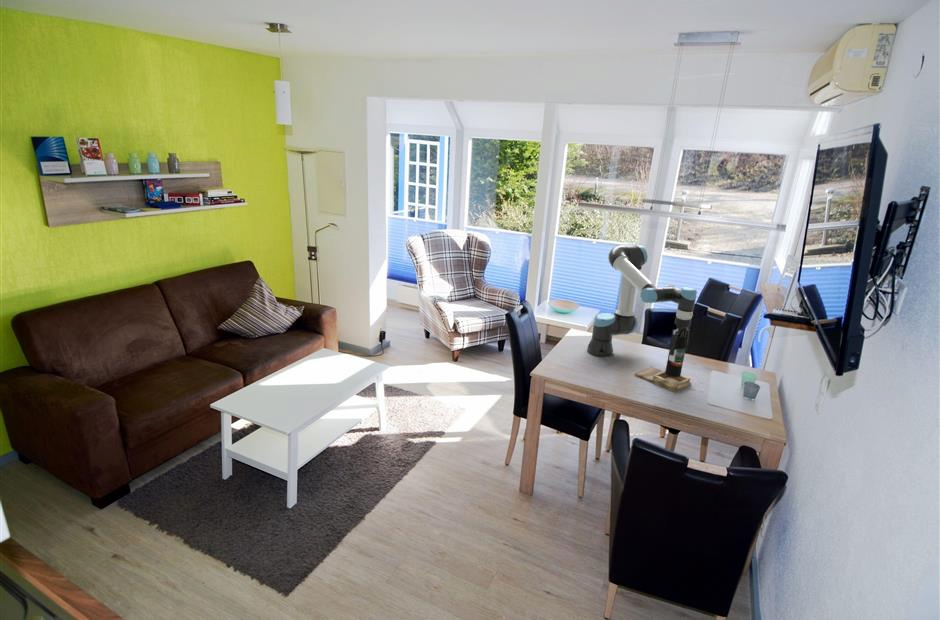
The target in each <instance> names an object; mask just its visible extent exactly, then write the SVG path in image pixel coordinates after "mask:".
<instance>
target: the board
mask: <svg viewBox="0 0 940 620" xmlns="http://www.w3.org/2000/svg"><path fill="white" fill-rule="evenodd" d="M665 371H666V369H665V370H661V369H658V368H656V367H653V366H649V367H646V368H643V369H641V370H639V371H638V370H637V371H636V372H635V373H634V376H636V377H638V378H641V379H642V380H645V381H648V382H650V383H652V384H655V385H657V386H659V387H661V388H664V389H666V390H669V391H671V392H673V393H676V392H677V393H678V392H679V391H680V390H681V391H682V390H683V389H685V388H687V387H689V386H691V385H692V382H691V378H690V377H688V376H685V375H683V374H681V375H680V376H679V377H672V376H669V375H667V374H666V373H665Z"/></svg>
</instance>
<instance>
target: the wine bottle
mask: <svg viewBox="0 0 940 620" xmlns="http://www.w3.org/2000/svg"><path fill="white" fill-rule="evenodd" d="M684 329H685V327H683V330H684ZM678 336H679V335H678ZM686 345H687V346H688V344H687V339H686V338H685V337H684V333H683V334H682V337H681V338H680V339H679V341H678V344H677V347H676V355H675V360H674V362H673V361H670V360H669V356H670V351H671V349H670V348H669V350H668V354H667V355H668V357H667V362H666V367H665V370H666V371H665V373H666V374H667V375H669V376H672V377H679V376H680V375H682V370H683V364H684V361H685V360H684V359H685V356H686V349H687V347H686Z"/></svg>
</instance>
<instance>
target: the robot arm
mask: <svg viewBox="0 0 940 620" xmlns="http://www.w3.org/2000/svg"><path fill="white" fill-rule="evenodd" d="M647 262H648V252H647V250H646V248H645V247H644V246H643V245H640V244H626V245H620V244H619V245H616V246H614V247H613V248H612V249H610V251H609V253H608V263H609V264H610V266H611V267H612V268H613V269H614V270H615V271H619V272H620V273H621V274H622V276H621V281H620V290H619V298H618V304H617V309H616V310H615V311H614V314H613V313H610V312H608V313H606V312H602V313H598V314H596V315H595V317H594V321H593V328H592V334H591V339H590V341H589V343H588V345H587V347H586V348H587V349H586V350H587V352H588V353H589V354H591V355H592V356H597V357H601V358H607V357H611V356H613V354H614V348H613V342H612V341H613V337H614V336H622V335H630V334H633V333H634V332H636V330H637V328H638V323H639V321H638V318H637V316H636V315H635V312H634V303H635V295H636V290H637V291H638V292H639V293H640V298H641V301H642V302H643V303H646V304H647V303H649V304H653V303H654V304H655V303H663V302H664V303H666V302H673V303H675V304H677V308H676V314H675V316H676V317H675V319H674V325H676V328H675V329H672V331H671V337H670V340H669V343H668V344H669V345H668V349H669V350H670V349H671V351H670V356H669V360H670V361H673V362H674V360H675V355H676V347H677V344H678V341H679V339H680V338H681V337H682V334H683V333H684V337H685V338H686V339H687V345H686V348H687V347H688V344H689V337H690V330H691V324H692V319H693V317H694V314H693V313H694V309H695V304H696V299H697V293H698V291H697V289H695V288H693V287H690V286H689V287H688V286H683V287H681V288H679V287H677V286H675V285H671V284H666V285H664V286H663V287H657V286H656V285H654V284H653V282H652V281H651V280H650V279H648V278H647V277H646V276H645V275H644V274H643V273H642V272H641V270H642V268H643V266H644V265H645V264H646V263H647ZM683 327H685V329H684V330H683ZM678 335H679V336H678Z"/></svg>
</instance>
